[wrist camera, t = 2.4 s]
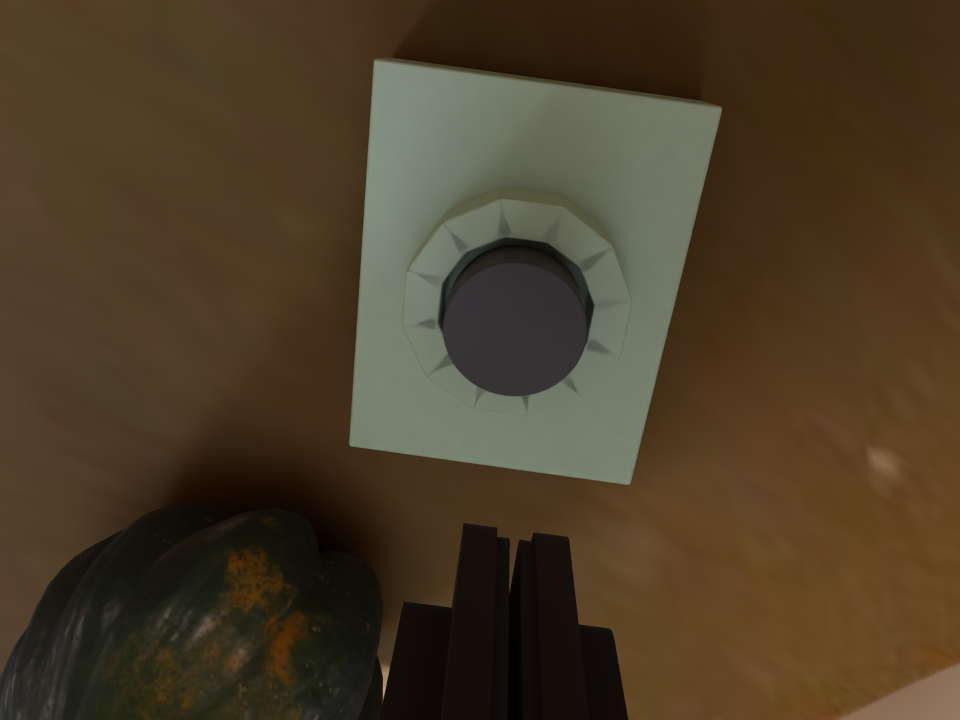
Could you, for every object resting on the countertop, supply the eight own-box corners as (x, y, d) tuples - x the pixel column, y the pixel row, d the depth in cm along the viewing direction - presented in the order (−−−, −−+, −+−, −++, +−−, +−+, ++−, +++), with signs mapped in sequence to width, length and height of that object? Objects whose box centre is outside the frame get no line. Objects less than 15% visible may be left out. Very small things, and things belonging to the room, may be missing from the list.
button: (456, 235, 23) (451, 252, 21) (594, 254, 23) (600, 272, 21) (442, 361, 25) (435, 386, 23) (570, 379, 25) (573, 405, 23)
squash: (507, 718, 30) (186, 898, 18) (291, 863, 36) (-71, 1079, 23) (361, 439, 36) (46, 426, 24) (196, 598, 42) (-132, 656, 29)
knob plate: (389, 57, 26) (360, 59, 21) (701, 100, 26) (741, 112, 21) (363, 411, 31) (336, 474, 27) (620, 447, 31) (638, 516, 27)
